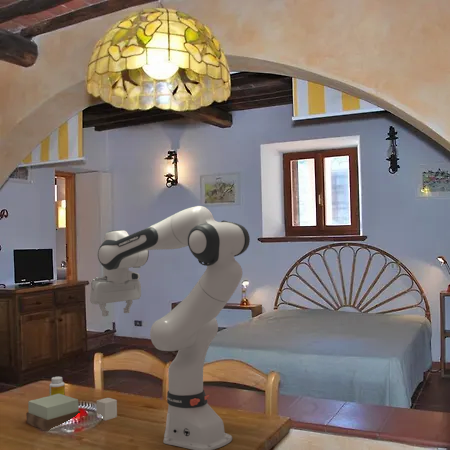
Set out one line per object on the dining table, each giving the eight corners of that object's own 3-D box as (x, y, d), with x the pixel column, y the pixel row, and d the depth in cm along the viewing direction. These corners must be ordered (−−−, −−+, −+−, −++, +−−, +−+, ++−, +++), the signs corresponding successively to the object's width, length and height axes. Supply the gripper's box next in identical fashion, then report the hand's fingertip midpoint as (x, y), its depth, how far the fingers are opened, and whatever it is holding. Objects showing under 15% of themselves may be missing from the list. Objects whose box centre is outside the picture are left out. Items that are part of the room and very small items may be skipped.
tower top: (78, 411, 197) (78, 399, 197) (47, 420, 188) (47, 407, 188) (58, 404, 205) (58, 393, 205) (28, 412, 196) (28, 401, 196)
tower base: (80, 422, 197) (80, 411, 197) (47, 432, 187) (46, 420, 187) (59, 415, 205) (59, 404, 206) (26, 424, 196) (26, 412, 196)
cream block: (116, 417, 201) (116, 400, 201) (105, 420, 197) (105, 403, 197) (108, 414, 204) (108, 397, 205) (96, 417, 201) (96, 400, 201)
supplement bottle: (67, 404, 216) (66, 377, 216) (53, 407, 213) (52, 380, 213) (61, 401, 220) (60, 375, 221) (47, 404, 217) (46, 377, 217)
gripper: (97, 278, 192) (97, 318, 192) (143, 274, 208) (143, 312, 207) (86, 277, 196) (86, 317, 196) (132, 273, 212) (132, 310, 212)
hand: (116, 314), depth 202 cm, fingers open, 8 cm apart
